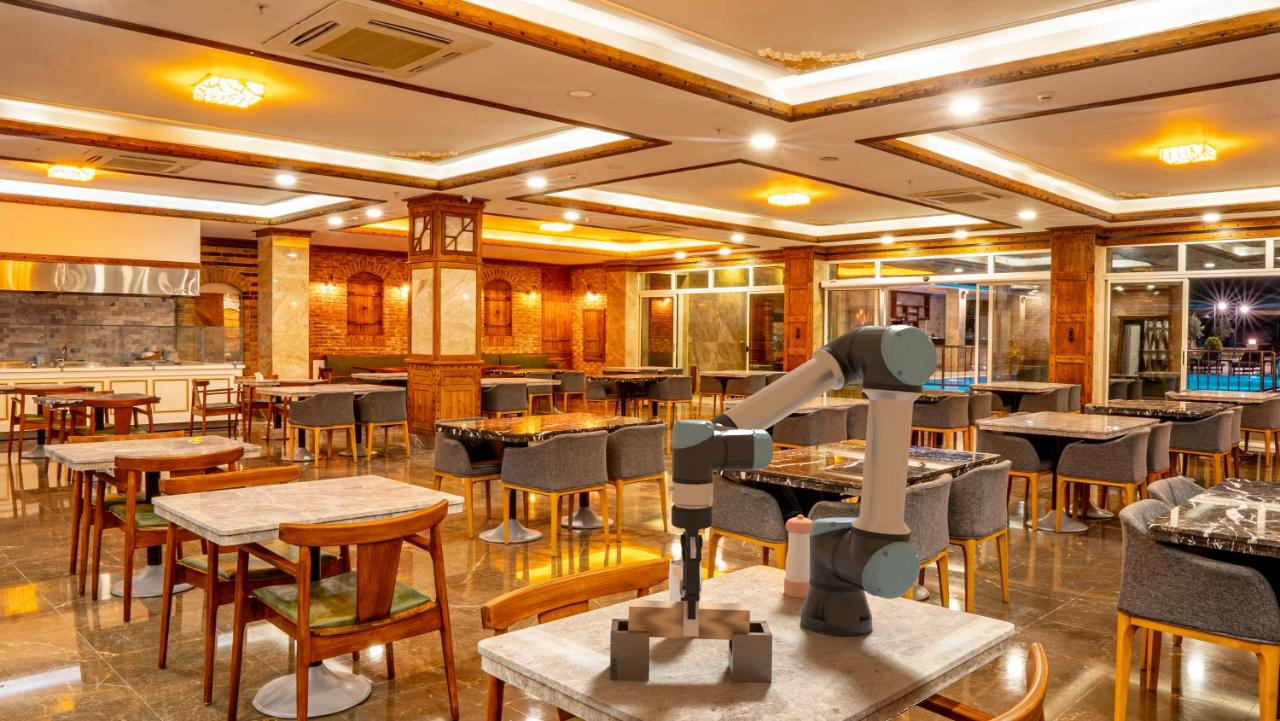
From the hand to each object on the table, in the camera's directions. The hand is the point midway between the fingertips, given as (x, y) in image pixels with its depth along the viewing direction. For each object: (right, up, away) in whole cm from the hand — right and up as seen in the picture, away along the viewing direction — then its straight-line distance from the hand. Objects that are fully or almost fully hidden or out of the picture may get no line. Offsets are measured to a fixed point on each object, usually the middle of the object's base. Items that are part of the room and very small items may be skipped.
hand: (690, 631), depth 161 cm
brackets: (0, -8, 0) cm, 8 cm away
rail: (0, -1, 0) cm, 1 cm away
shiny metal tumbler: (0, -7, +22) cm, 23 cm away
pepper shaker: (+29, -7, +51) cm, 60 cm away
